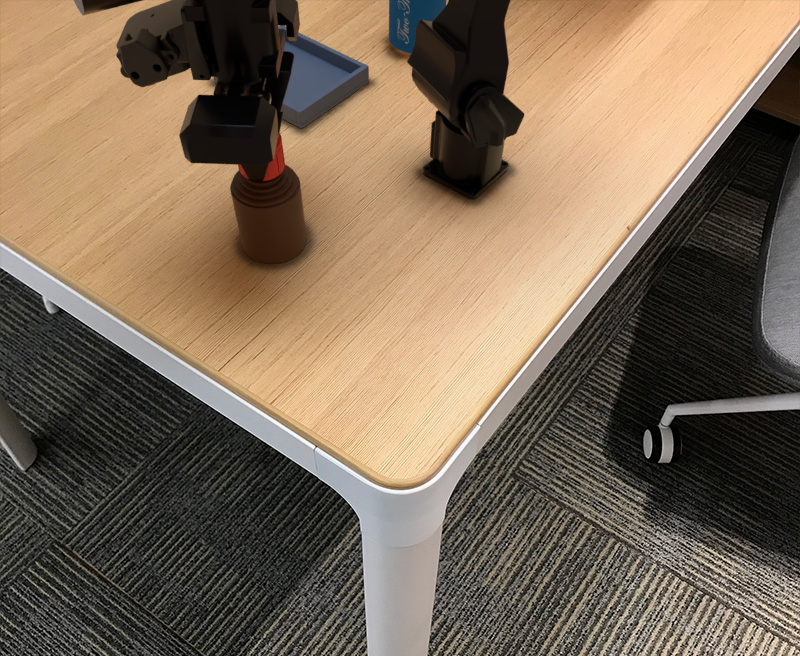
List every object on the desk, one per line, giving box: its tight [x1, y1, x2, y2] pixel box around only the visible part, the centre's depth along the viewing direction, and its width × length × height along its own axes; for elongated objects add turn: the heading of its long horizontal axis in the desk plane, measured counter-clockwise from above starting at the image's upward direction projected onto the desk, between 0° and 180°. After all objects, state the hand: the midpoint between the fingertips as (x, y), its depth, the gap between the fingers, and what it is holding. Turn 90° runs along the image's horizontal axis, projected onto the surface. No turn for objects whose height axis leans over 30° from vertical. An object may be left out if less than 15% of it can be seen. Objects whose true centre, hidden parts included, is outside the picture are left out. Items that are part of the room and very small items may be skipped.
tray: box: [213, 25, 370, 130], centre depth 85 cm, size 13×11×2 cm
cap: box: [237, 132, 286, 181], centre depth 63 cm, size 4×4×3 cm
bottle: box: [229, 164, 307, 265], centre depth 67 cm, size 6×6×10 cm
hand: (260, 164), depth 64 cm, fingers closed on cap, 4 cm apart
